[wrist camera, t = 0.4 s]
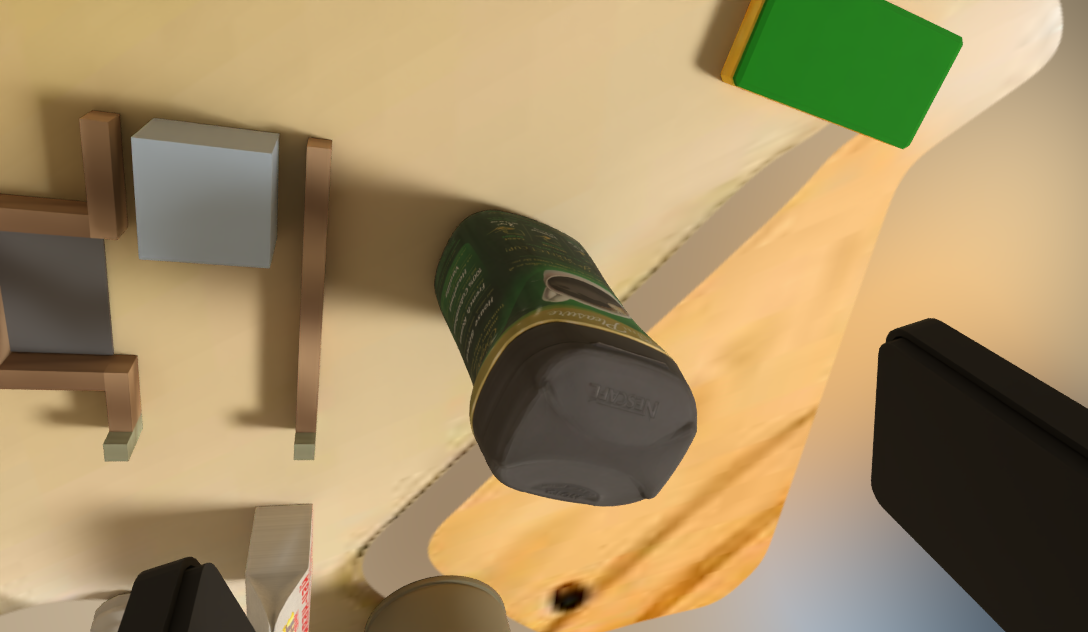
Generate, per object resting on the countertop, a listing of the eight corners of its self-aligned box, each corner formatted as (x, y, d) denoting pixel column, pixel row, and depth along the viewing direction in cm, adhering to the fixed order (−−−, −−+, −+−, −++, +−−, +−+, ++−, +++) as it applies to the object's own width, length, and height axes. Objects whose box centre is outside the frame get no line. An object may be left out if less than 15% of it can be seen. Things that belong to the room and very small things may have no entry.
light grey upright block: (258, 578, 50) (240, 707, 42) (255, 506, 47) (235, 629, 39) (312, 574, 51) (305, 698, 43) (312, 503, 48) (305, 622, 40)
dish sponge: (882, 142, 47) (908, 151, 45) (714, 78, 42) (734, 84, 40) (938, 35, 44) (967, 39, 42) (765, -46, 39) (789, -47, 37)
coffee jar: (416, 304, 43) (456, 507, 28) (464, 189, 41) (539, 341, 25) (551, 344, 47) (654, 543, 31) (602, 242, 45) (744, 402, 29)
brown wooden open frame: (-59, 91, 33) (-97, 104, 30) (332, 140, 38) (330, 155, 35) (0, 427, 40) (-25, 462, 38) (316, 429, 46) (314, 460, 43)
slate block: (154, 117, 35) (130, 137, 31) (279, 132, 37) (271, 153, 33) (160, 228, 38) (139, 259, 34) (277, 237, 40) (269, 268, 36)
